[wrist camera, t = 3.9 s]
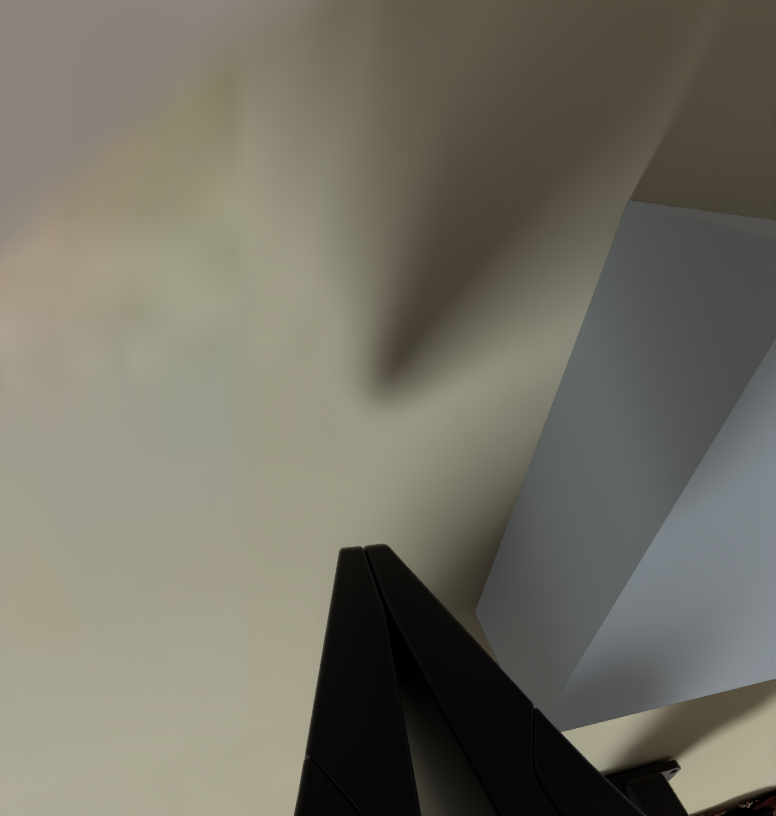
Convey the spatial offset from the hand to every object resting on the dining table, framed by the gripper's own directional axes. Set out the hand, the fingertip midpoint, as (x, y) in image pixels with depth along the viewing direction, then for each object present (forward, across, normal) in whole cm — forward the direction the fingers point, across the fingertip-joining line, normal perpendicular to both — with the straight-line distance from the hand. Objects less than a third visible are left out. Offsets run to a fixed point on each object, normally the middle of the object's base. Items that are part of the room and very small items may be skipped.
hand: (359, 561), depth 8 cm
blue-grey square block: (+3, -11, 0) cm, 11 cm away
